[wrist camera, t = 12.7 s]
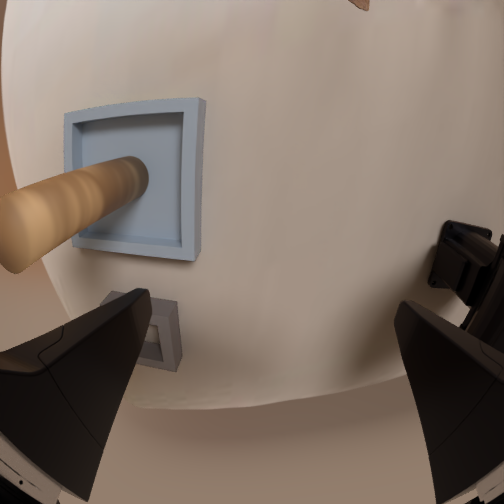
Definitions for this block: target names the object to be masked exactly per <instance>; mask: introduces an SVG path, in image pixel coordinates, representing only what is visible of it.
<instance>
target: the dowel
mask: <svg viewBox="0 0 504 504" xmlns="http://www.w3.org/2000/svg"><path fill="white" fill-rule="evenodd" d="M148 183H149V174H148V170H147V168H146V166H145V164H144V163H143V162H142V161H141V160H140V159H139V158H137V157H134V156H125V157H121V158H117V159H113V160H109V161H105V162H101V163H97V164H94V165H90V166H87V167H83V168H80V169H76V170H73V171H70V172H67V173H63V174H60V175H57V176H54V177H51V178H48V179H45V180H42V181H40V182H37V183H34V184H31V185H29V186H26V187H23V188H21V189H18V190H16V191H13V192H11V193H8V194H6V195H3V196H1V197H0V263H1V265H3V267H4V268H5V269H6V270H8V271H10V272H11V273H14V274H18V273H21V272H22V271H23V270H25V269H26V268H27V267H29V266H30V265H32V264H33V263H34V262H36V261H37V260H39V259H40V258H41V257H43V256H44V255H46V254H47V253H48V252H50V251H51V250H53V249H54V248H56V247H57V246H59V245H60V244H62V243H63V242H65V241H66V240H68V239H69V238H71V237H72V236H74V235H76V234H77V233H79V232H80V231H82V230H83V229H85V228H87V227H88V226H90V225H92V224H93V223H95V222H96V221H98V220H100V219H101V218H103V217H105V216H107V215H108V214H110V213H112V212H113V211H115V210H117V209H119V208H120V207H122V206H124V205H126V204H128V203H129V202H131V201H133V200H135V199H137V198H138V197H140V196H141V195H143V193H144V192H145V191H146V189H147V187H148Z"/></svg>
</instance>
